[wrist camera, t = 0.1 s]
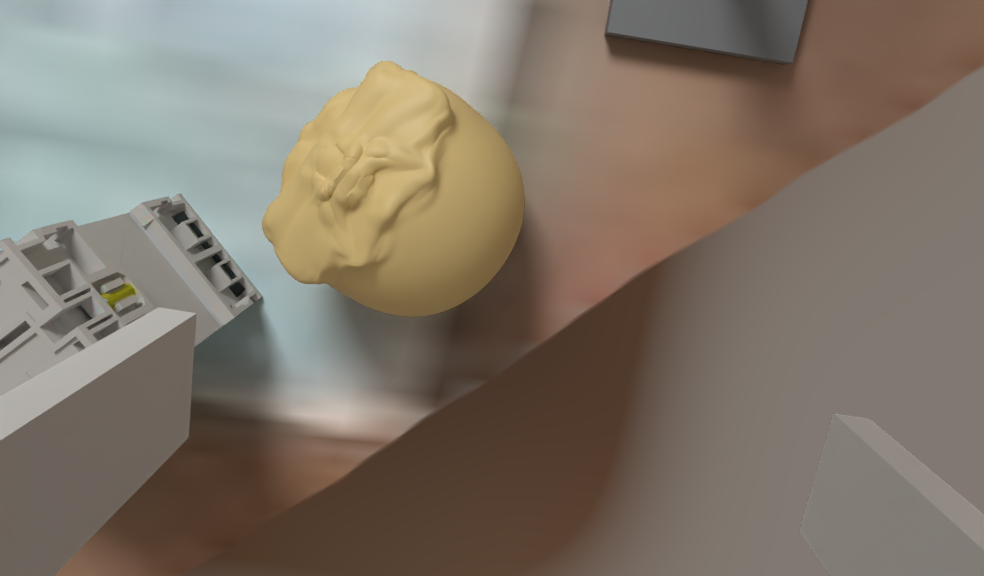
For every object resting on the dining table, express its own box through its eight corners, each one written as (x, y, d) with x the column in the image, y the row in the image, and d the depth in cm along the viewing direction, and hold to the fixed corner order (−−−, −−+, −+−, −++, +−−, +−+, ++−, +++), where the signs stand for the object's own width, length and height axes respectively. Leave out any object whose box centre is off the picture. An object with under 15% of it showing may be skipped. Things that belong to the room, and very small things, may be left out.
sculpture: (394, 39, 40) (354, 13, 29) (560, 178, 41) (580, 200, 31) (274, 201, 42) (198, 230, 32) (437, 327, 44) (416, 395, 33)
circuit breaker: (3, 328, 44) (-245, 434, 29) (180, 193, 42) (7, 236, 27) (87, 422, 45) (-111, 568, 31) (262, 296, 43) (139, 389, 29)
